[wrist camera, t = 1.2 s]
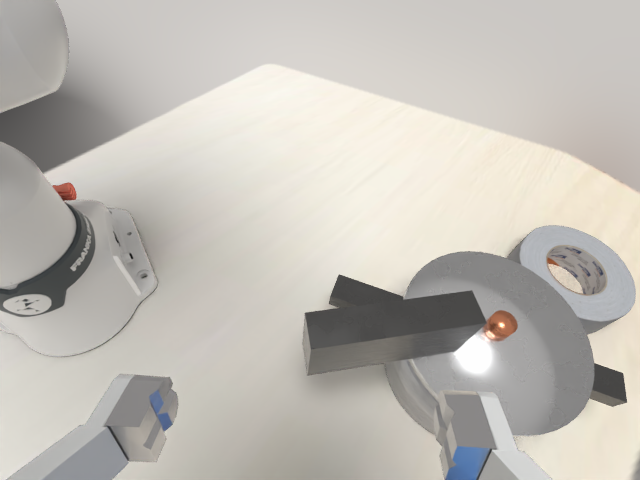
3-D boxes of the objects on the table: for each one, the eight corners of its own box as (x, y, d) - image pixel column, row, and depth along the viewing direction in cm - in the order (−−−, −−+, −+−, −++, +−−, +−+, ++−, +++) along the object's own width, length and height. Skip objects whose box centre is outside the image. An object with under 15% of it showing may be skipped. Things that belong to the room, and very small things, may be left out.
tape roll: (561, 355, 48) (587, 341, 44) (481, 265, 55) (497, 247, 51) (632, 307, 53) (660, 291, 49) (550, 231, 60) (569, 211, 56)
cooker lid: (527, 249, 45) (568, 204, 38) (627, 416, 34) (710, 396, 27) (291, 277, 40) (292, 232, 33) (321, 480, 29) (331, 474, 23)
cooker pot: (566, 338, 49) (621, 306, 41) (573, 491, 39) (647, 488, 31) (348, 264, 54) (358, 222, 46) (303, 382, 44) (306, 355, 35)
